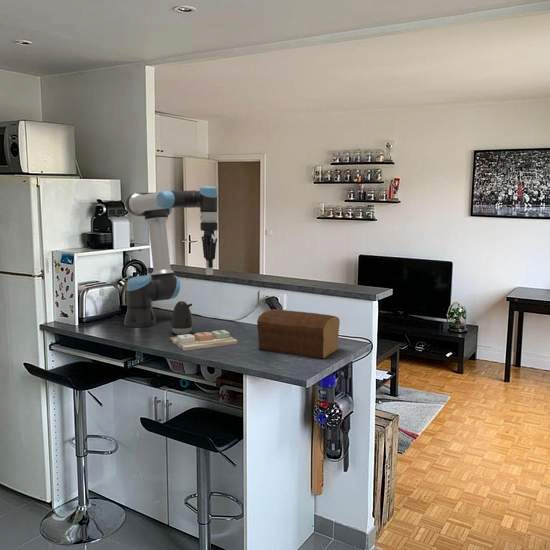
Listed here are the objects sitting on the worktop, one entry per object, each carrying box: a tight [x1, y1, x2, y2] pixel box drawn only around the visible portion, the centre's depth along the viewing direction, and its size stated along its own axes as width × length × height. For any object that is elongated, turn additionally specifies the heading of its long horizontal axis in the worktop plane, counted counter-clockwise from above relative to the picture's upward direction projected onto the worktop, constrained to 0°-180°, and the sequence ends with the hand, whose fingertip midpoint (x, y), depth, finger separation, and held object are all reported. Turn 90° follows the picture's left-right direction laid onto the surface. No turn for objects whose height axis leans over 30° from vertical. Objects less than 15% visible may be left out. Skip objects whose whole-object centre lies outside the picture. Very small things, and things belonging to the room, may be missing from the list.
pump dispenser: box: [170, 300, 194, 335], centre depth 265 cm, size 10×10×15 cm
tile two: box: [194, 331, 213, 342], centre depth 251 cm, size 6×6×3 cm
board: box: [169, 332, 238, 351], centre depth 251 cm, size 18×24×2 cm
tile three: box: [211, 329, 231, 339], centre depth 254 cm, size 6×6×3 cm
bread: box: [256, 308, 341, 359], centre depth 239 cm, size 18×30×16 cm, turn 62°
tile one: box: [176, 333, 195, 344], centre depth 247 cm, size 6×6×3 cm
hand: (209, 274), depth 258 cm, fingers closed
